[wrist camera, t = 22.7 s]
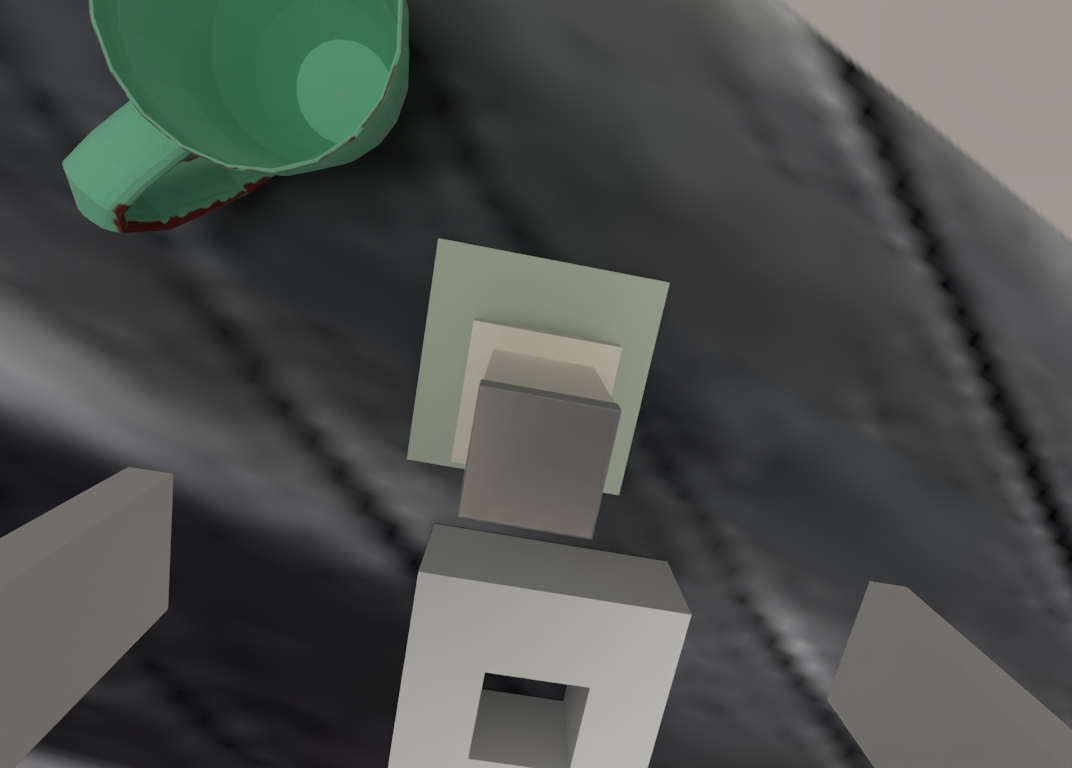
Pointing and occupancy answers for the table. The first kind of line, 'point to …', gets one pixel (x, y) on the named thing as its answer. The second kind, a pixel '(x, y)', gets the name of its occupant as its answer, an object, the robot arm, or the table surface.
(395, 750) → the socket
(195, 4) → the mug
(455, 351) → the mat
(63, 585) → the robot arm
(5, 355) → the table surface
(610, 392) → the plug
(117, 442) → the table surface
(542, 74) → the table surface
